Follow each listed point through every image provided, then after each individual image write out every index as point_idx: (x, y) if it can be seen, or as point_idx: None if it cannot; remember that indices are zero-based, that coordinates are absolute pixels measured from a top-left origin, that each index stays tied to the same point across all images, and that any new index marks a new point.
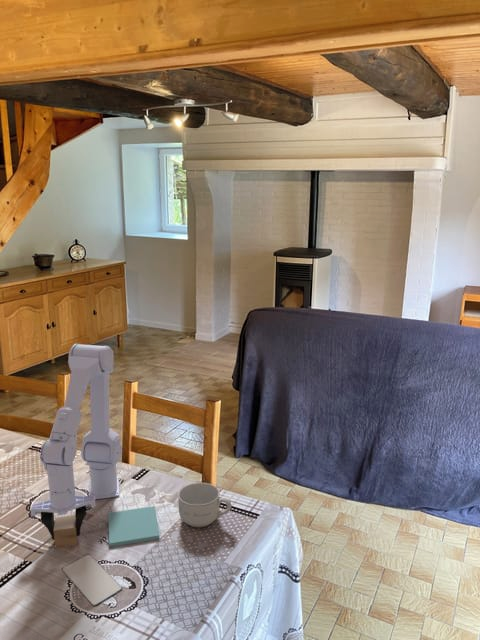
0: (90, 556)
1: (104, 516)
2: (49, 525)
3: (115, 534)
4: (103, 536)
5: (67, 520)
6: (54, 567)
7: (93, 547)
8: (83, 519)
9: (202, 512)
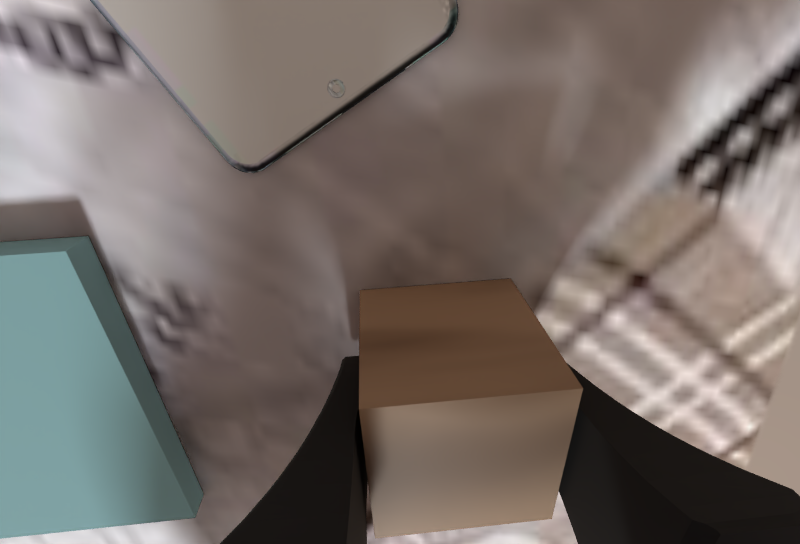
0: (221, 142)
1: (230, 493)
2: (647, 448)
3: (54, 343)
4: (182, 348)
5: (449, 490)
6: (521, 63)
7: (228, 250)
8: (260, 500)
9: None
